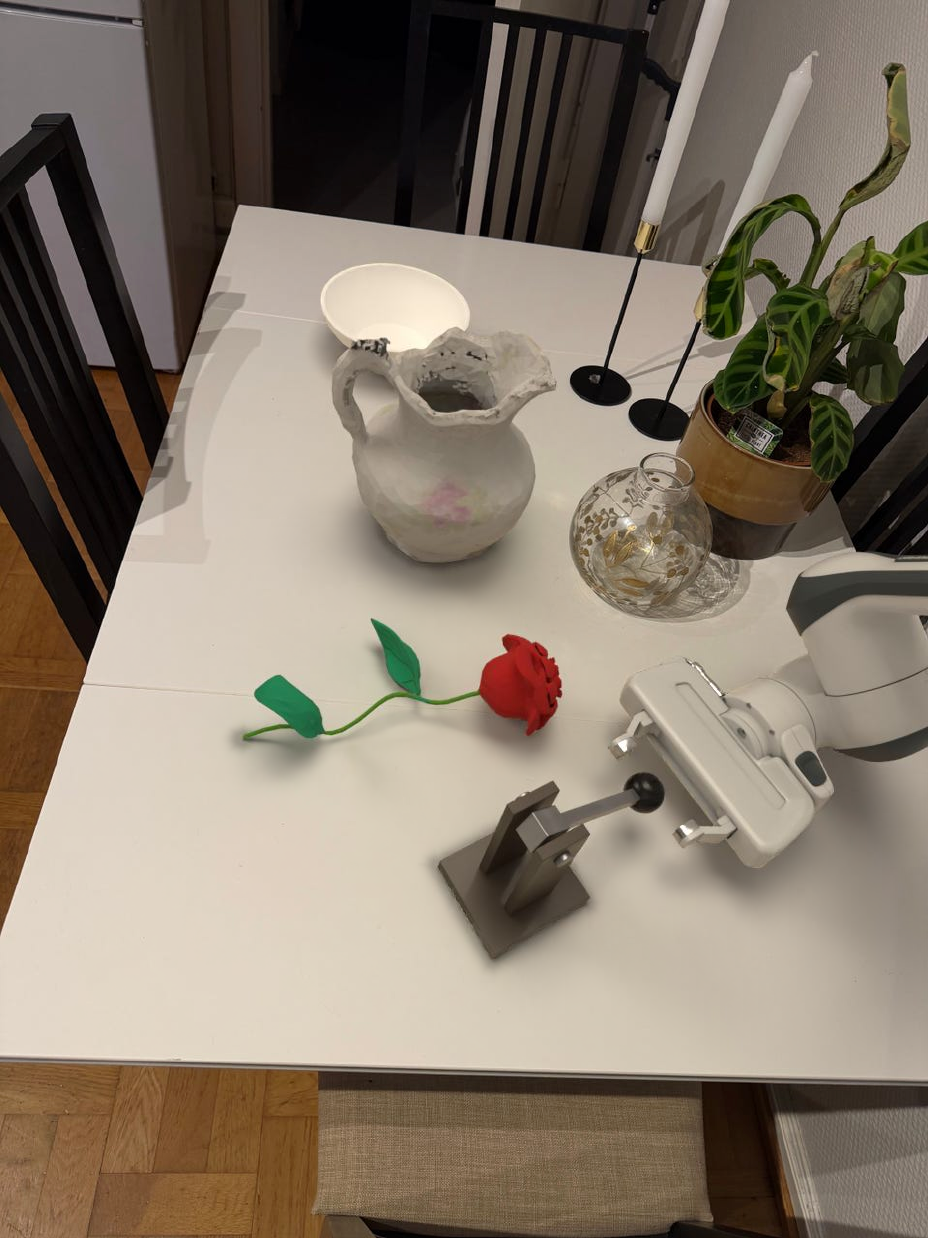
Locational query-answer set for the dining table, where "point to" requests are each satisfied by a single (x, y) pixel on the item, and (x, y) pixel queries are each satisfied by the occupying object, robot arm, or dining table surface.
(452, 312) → the bowl
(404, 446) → the ceramic pitcher
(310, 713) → the decorative flower
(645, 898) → the dining table surface
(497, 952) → the bracket
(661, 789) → the lever
